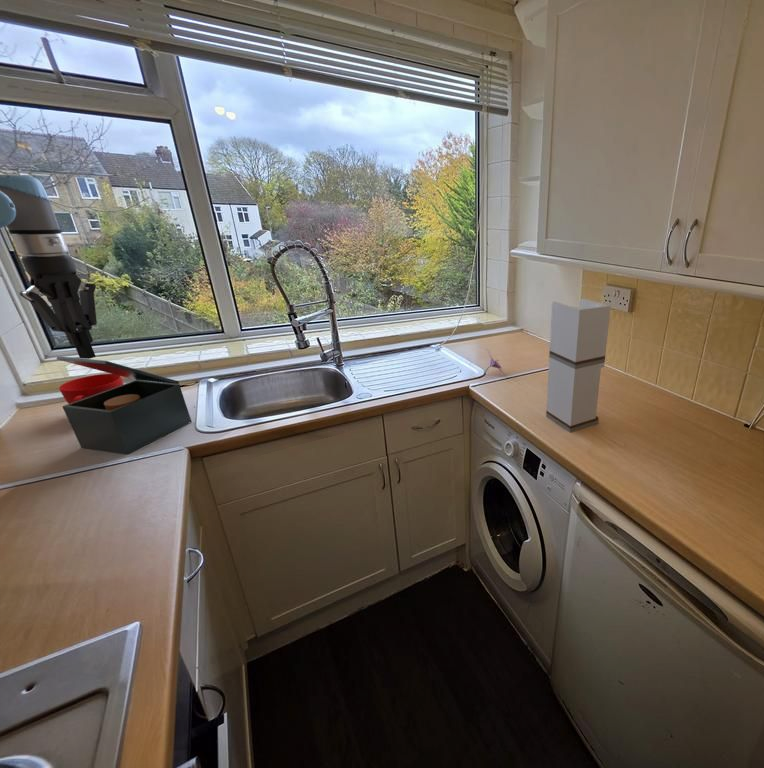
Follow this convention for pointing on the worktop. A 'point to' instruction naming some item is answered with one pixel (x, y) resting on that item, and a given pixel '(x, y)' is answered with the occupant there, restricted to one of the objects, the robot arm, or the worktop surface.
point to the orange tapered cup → (120, 401)
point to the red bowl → (89, 386)
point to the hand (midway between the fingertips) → (87, 357)
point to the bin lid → (117, 369)
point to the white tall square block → (576, 362)
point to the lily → (494, 364)
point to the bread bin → (128, 417)
